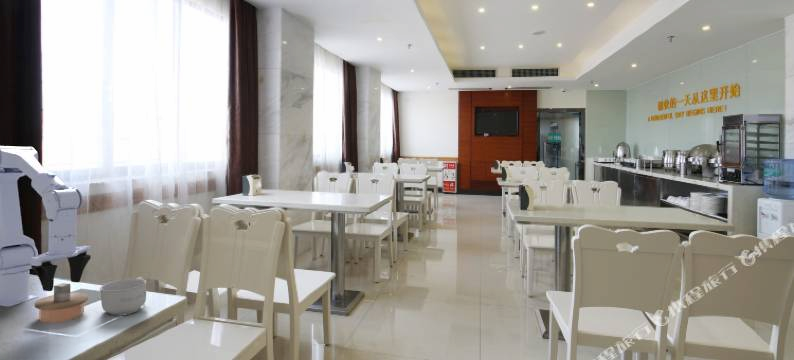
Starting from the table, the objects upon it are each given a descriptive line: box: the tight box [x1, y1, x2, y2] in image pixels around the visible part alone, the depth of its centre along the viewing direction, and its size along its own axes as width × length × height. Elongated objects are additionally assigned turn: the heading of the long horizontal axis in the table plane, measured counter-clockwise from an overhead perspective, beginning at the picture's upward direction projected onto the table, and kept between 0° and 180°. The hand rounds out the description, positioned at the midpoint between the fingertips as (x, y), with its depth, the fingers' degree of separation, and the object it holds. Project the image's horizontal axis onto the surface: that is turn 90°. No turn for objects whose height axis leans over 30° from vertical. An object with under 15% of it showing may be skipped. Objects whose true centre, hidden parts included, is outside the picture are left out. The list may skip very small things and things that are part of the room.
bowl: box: [38, 303, 85, 323], centre depth 110 cm, size 9×9×4 cm
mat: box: [70, 288, 101, 307], centre depth 123 cm, size 13×13×1 cm
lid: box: [34, 282, 88, 310], centre depth 110 cm, size 11×11×5 cm
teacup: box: [99, 276, 148, 316], centre depth 117 cm, size 14×11×8 cm
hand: (62, 286), depth 110 cm, fingers open, 7 cm apart
